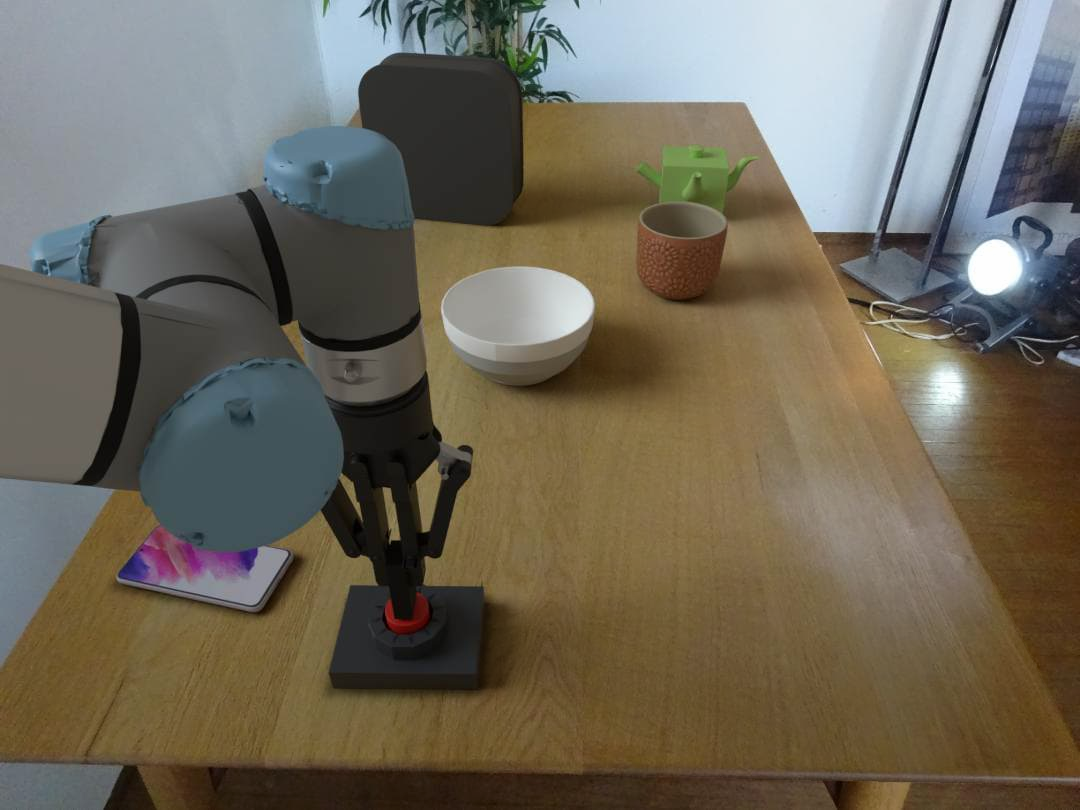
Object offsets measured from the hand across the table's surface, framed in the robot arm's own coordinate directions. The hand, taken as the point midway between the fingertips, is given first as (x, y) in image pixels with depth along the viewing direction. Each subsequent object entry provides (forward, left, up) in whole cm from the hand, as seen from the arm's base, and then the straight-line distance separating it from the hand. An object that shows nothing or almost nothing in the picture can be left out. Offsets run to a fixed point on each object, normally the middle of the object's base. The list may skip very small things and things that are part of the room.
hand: (405, 605), depth 67 cm
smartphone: (-22, 0, -5) cm, 23 cm away
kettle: (+2, +96, -5) cm, 96 cm away
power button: (0, 0, -2) cm, 2 cm away
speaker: (-37, +81, -5) cm, 89 cm away
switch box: (0, 0, -5) cm, 5 cm away
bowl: (-8, +43, -5) cm, 44 cm away
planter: (+6, +69, -5) cm, 70 cm away
